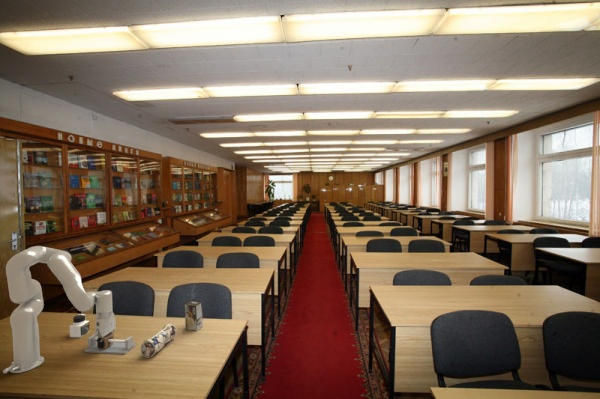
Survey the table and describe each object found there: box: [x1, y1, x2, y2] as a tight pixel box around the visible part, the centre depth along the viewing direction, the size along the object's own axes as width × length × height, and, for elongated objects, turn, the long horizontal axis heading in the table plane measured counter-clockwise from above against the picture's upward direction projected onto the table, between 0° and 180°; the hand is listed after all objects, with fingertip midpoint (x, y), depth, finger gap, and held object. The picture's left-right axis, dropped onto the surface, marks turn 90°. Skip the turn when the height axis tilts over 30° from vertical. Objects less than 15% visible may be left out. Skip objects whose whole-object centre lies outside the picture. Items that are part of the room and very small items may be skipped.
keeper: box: [97, 333, 115, 349], centre depth 160 cm, size 6×5×6 cm
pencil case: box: [140, 322, 178, 359], centre depth 161 cm, size 22×8×10 cm, turn 172°
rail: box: [83, 334, 137, 355], centre depth 160 cm, size 9×24×6 cm, turn 85°
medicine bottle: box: [68, 313, 91, 338], centre depth 175 cm, size 7×7×12 cm
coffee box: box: [184, 300, 204, 332], centre depth 183 cm, size 9×6×16 cm
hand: (105, 344), depth 160 cm, fingers closed on keeper, 6 cm apart
